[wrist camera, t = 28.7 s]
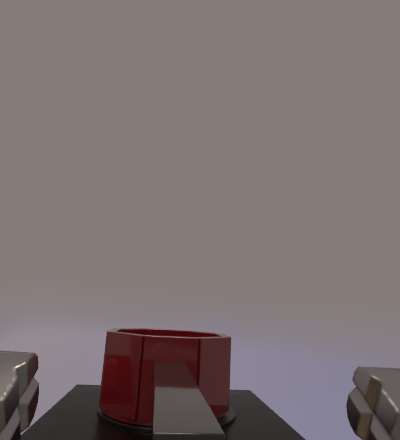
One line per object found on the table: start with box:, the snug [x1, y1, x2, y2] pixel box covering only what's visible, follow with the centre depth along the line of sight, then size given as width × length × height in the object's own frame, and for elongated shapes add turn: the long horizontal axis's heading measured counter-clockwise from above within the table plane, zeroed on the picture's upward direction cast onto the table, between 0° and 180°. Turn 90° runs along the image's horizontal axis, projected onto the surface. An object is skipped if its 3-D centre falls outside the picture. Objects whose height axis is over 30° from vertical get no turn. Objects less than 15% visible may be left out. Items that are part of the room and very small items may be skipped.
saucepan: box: [99, 328, 231, 440], centre depth 20 cm, size 9×22×5 cm, turn 7°
